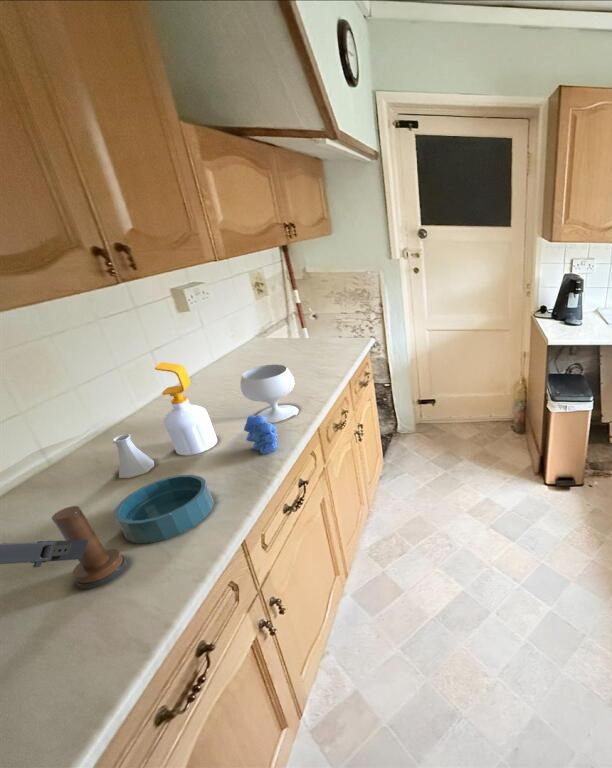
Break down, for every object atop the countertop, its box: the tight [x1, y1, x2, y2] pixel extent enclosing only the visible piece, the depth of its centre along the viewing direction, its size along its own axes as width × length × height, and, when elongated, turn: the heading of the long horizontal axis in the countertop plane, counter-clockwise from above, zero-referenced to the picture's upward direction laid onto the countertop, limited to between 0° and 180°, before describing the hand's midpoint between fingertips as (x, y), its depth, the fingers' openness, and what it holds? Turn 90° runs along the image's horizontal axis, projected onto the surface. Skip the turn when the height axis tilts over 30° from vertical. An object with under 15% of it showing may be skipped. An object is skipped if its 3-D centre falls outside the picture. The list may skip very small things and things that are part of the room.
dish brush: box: [51, 505, 128, 590], centre depth 68 cm, size 6×6×15 cm
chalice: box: [240, 364, 300, 423], centre depth 120 cm, size 14×14×15 cm
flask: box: [112, 433, 155, 479], centre depth 96 cm, size 7×7×10 cm
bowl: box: [113, 474, 215, 544], centre depth 83 cm, size 15×15×6 cm
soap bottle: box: [154, 361, 218, 456], centre depth 102 cm, size 9×9×25 cm
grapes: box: [243, 414, 278, 455], centre depth 104 cm, size 12×7×12 cm, turn 63°
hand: (36, 551), depth 60 cm, fingers open, 13 cm apart
